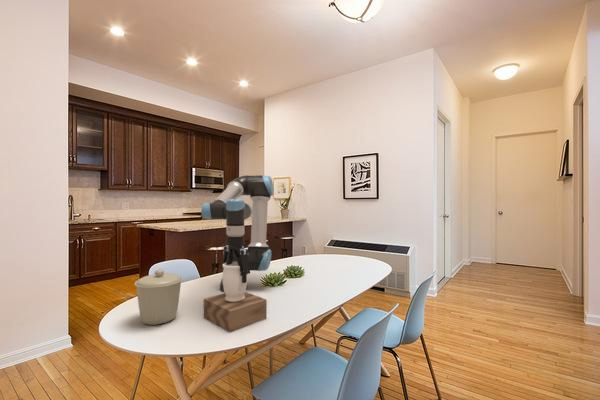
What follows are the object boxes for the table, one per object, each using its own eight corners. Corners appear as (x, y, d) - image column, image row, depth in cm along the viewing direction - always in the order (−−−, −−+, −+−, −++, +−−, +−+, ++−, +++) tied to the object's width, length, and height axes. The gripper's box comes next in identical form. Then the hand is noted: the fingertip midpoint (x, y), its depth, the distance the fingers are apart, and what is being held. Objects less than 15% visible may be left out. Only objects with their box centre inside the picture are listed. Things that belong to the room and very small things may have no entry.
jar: (234, 305, 118) (235, 267, 118) (216, 300, 124) (217, 264, 124) (252, 297, 127) (252, 262, 127) (235, 293, 133) (235, 260, 133)
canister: (174, 328, 115) (174, 274, 115) (125, 330, 113) (125, 275, 113) (187, 311, 133) (188, 264, 133) (146, 312, 131) (146, 264, 131)
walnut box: (203, 317, 126) (203, 298, 126) (238, 306, 139) (238, 289, 139) (230, 332, 112) (230, 311, 112) (266, 318, 125) (266, 299, 125)
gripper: (213, 233, 130) (213, 283, 131) (244, 239, 115) (243, 295, 115) (227, 232, 136) (227, 280, 136) (259, 237, 120) (259, 291, 120)
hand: (235, 287), depth 125 cm, fingers closed on jar, 10 cm apart
